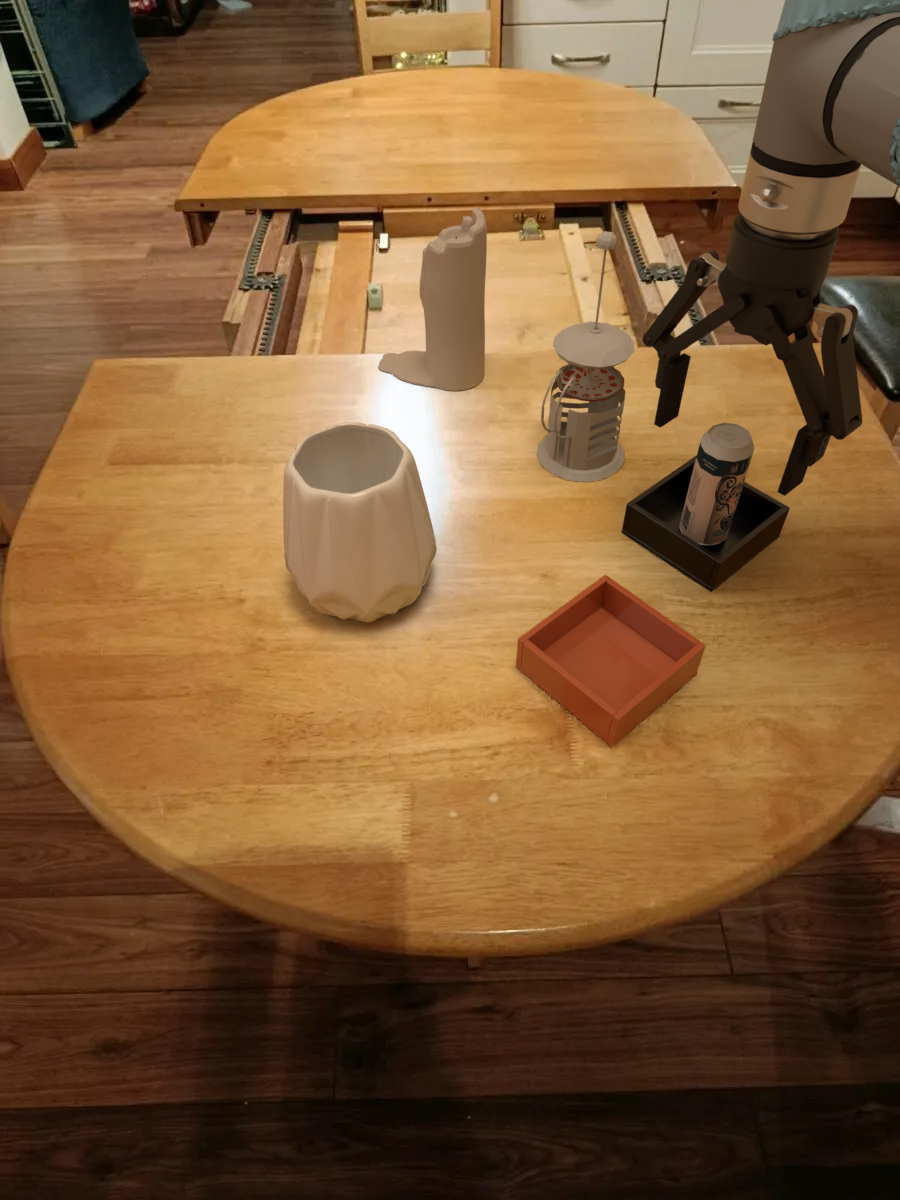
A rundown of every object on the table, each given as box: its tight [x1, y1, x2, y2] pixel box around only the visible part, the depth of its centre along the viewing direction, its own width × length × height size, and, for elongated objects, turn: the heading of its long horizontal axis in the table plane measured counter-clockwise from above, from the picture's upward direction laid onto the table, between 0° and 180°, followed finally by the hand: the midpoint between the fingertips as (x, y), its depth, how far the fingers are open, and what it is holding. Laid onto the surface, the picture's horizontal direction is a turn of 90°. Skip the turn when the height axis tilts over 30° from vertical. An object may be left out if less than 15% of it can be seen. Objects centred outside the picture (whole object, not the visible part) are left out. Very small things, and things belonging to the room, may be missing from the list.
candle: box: [377, 206, 488, 392], centre depth 99 cm, size 7×14×20 cm, turn 72°
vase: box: [282, 421, 438, 623], centre depth 77 cm, size 14×14×15 cm
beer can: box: [679, 422, 755, 546], centre depth 81 cm, size 5×5×12 cm
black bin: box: [621, 454, 791, 593], centre depth 84 cm, size 11×11×4 cm
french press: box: [536, 230, 635, 483], centre depth 85 cm, size 10×12×25 cm
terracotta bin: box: [515, 574, 706, 748], centre depth 73 cm, size 11×11×4 cm
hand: (725, 452), depth 78 cm, fingers open, 13 cm apart
